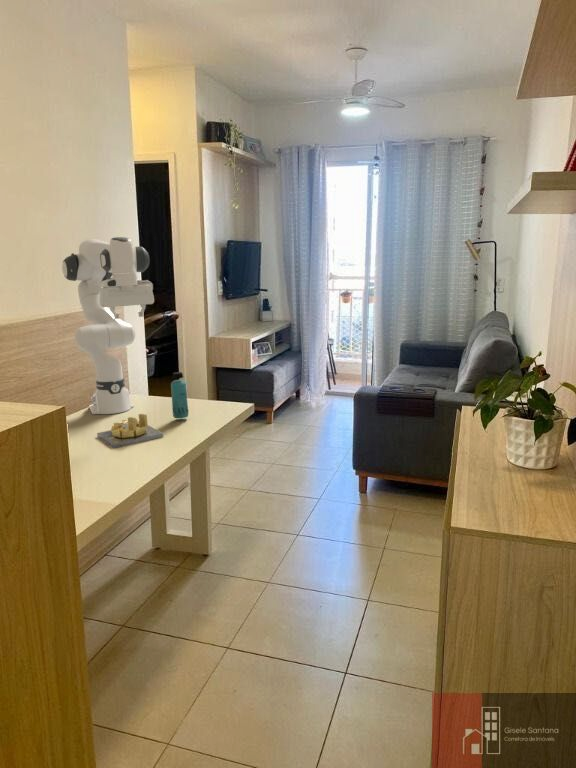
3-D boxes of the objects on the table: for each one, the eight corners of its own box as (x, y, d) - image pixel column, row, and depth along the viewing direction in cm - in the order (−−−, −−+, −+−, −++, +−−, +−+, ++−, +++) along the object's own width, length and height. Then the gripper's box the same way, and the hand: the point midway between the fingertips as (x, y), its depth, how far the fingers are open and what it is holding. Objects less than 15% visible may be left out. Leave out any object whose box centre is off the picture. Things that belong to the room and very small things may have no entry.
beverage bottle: (170, 421, 232) (166, 373, 228) (178, 417, 238) (174, 370, 234) (184, 422, 230) (180, 374, 225) (192, 418, 236) (188, 371, 232)
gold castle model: (97, 436, 215) (95, 424, 214) (144, 426, 226) (143, 414, 225) (113, 448, 201) (112, 434, 200) (163, 437, 212) (162, 424, 211)
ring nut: (105, 434, 211) (103, 416, 210) (131, 425, 221) (129, 408, 220) (128, 439, 204) (126, 421, 203) (154, 430, 214) (152, 412, 213)
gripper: (149, 279, 221) (153, 315, 224) (96, 282, 211) (100, 319, 214) (154, 279, 216) (158, 315, 219) (99, 282, 206) (104, 320, 209)
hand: (129, 317), depth 216 cm, fingers open, 8 cm apart
